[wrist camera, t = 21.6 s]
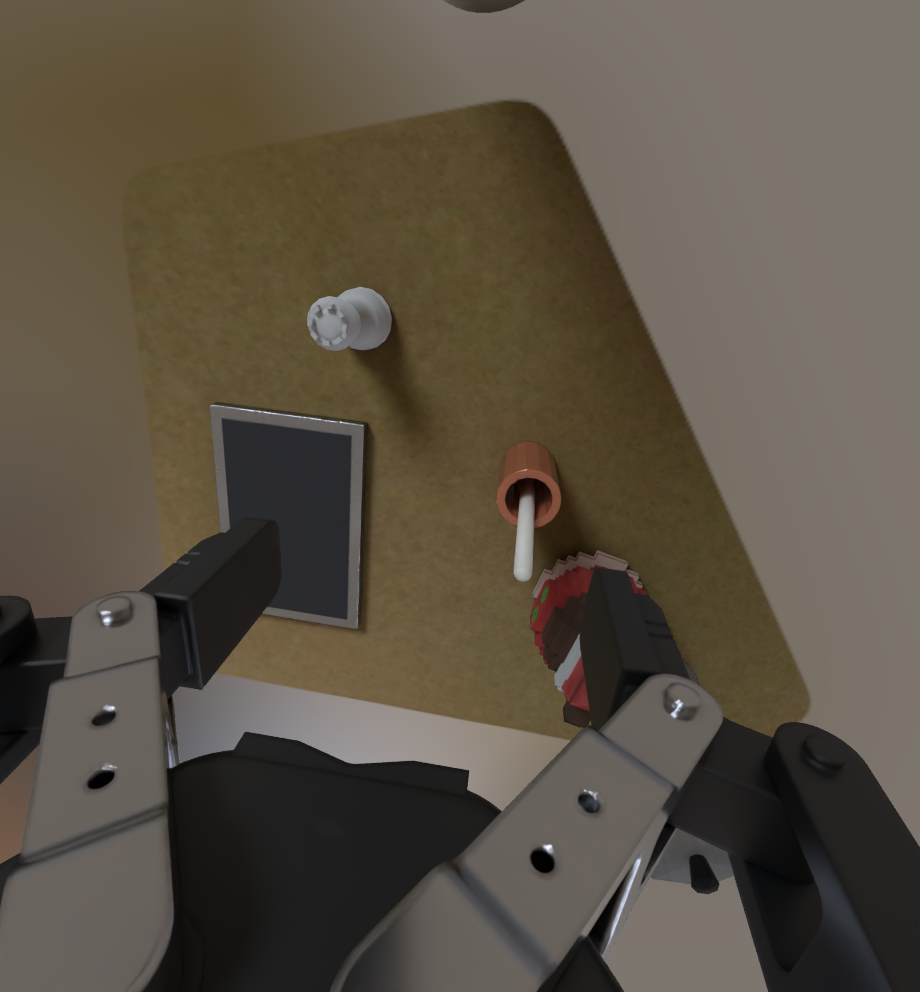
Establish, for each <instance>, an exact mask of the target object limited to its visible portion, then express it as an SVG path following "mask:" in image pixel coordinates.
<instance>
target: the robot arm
mask: <svg viewBox="0 0 920 992" xmlns="http://www.w3.org/2000/svg"><path fill="white" fill-rule="evenodd" d="M280 582H281V554H280V535H279V526H278V524H277V522H276V521H274V520H268V519H261V518H254V517H244V518H242V519H241V520H240V521H238V522H237V523H236V524H235V525H234V526H233V527H231V528H230V529H229V530H228V531H227V532H225V533H224V532H221V533H218V534H216V535H214V536H211V537H209V538H207V539H204V540H202V541H201V542H199V543H198V544H197V545H196V546H194V547H193V548H192V549H191V550H190V551H188V554H185V555H183V556H182V557H181V558H180V559H178V560H177V563H173V564H172V565H171V566H170V567H168V568H167V569H166V570H165V571H163V572H162V573H161V574H160V575H159V576H157V577H156V578H155V579H154V580H152V581H151V582H150V583H149V584H147V585H146V586H145V587H144V588H142V589H141V590H140V591H123V592H116V593H111V594H107V595H104V596H101V597H99V598H96V599H94V600H92V601H90V602H88V603H87V604H85V605H83V606H82V607H81V608H79V609H78V611H77V612H76V613H75V614H74V616H73V617H56V618H38V619H34V615H33V612H32V608H31V605H30V603H29V601H28V600H26V599H24V598H21V597H17V596H0V784H1V783H2V782H3V781H4V780H5V779H6V778H7V777H8V776H9V775H10V774H11V773H12V772H13V770H15V769H16V767H18V766H19V764H20V763H21V762H22V761H23V760H24V759H25V758H26V757H27V756H28V755H29V754H30V753H31V752H32V751H33V750H34V749H35V748H36V747H37V746H38V745H39V750H38V757H37V762H36V767H35V773H34V779H33V785H32V791H31V796H30V802H29V808H28V814H27V820H26V825H25V831H24V837H23V843H22V849H21V853H19V854H17V855H16V856H14V857H12V858H10V859H8V860H7V861H5V862H3V863H1V864H0V992H624V991H623V989H622V987H621V986H620V984H619V983H618V981H617V980H616V978H615V976H614V975H613V973H612V972H611V970H610V969H609V967H608V965H607V964H606V963H605V960H606V958H607V956H608V955H609V953H610V951H611V949H612V947H613V945H614V944H615V942H616V940H617V938H618V936H619V934H620V932H621V930H622V928H623V926H624V924H625V922H626V920H627V918H628V916H629V913H630V912H631V910H632V908H633V906H634V904H635V902H636V900H637V898H638V897H639V895H640V893H641V892H642V890H643V888H644V886H645V885H646V883H647V881H648V880H649V878H650V876H651V875H652V873H653V871H654V870H655V868H656V866H657V865H658V863H659V861H660V859H661V858H662V856H663V854H664V853H665V851H666V849H667V848H668V846H669V844H670V842H671V841H672V839H673V837H674V836H675V834H676V832H677V831H678V829H680V830H682V831H684V832H686V833H688V834H691V835H693V836H695V837H697V838H699V839H701V840H703V841H705V842H707V843H709V844H711V845H713V846H715V847H718V848H720V849H722V850H724V851H726V852H727V853H728V857H729V860H730V863H731V867H732V870H733V874H734V877H735V880H736V883H737V887H738V891H739V894H740V897H741V900H742V904H743V907H744V911H745V914H746V918H747V921H748V925H749V928H750V931H751V935H752V938H753V942H754V945H755V948H756V952H757V955H758V959H759V962H760V965H761V969H762V972H763V975H764V978H765V982H766V986H767V989H768V992H920V847H919V846H918V844H917V842H916V841H915V839H914V838H913V836H912V834H911V833H910V831H909V830H908V828H907V827H906V825H905V823H904V822H903V820H902V819H901V817H900V816H899V814H898V812H897V811H896V809H895V808H894V806H893V805H892V803H891V802H890V800H889V798H888V797H887V796H886V794H885V792H884V791H883V789H882V787H881V786H880V784H879V783H878V781H877V780H876V778H875V776H874V775H873V773H872V772H871V770H870V769H869V767H868V765H867V764H866V763H865V761H864V760H863V759H862V758H861V757H860V756H859V754H858V753H857V752H856V751H854V750H853V749H852V748H851V747H850V746H849V745H847V744H846V743H845V742H844V741H842V740H841V739H839V738H837V737H836V736H834V735H832V734H831V733H829V732H827V731H824V730H823V729H820V728H818V727H815V726H812V725H809V724H805V723H798V722H790V723H785V724H782V725H781V726H779V727H778V728H777V730H776V732H775V734H774V736H773V738H772V737H769V736H767V735H764V734H762V733H759V732H757V731H754V730H752V729H749V728H746V727H744V726H741V725H739V724H737V723H734V722H732V721H730V720H728V719H726V718H725V717H723V712H722V709H721V707H720V705H719V703H718V702H717V700H716V699H715V698H714V697H713V696H712V695H711V694H710V693H709V692H708V691H707V690H706V689H704V688H703V687H702V686H700V685H698V684H697V683H695V682H693V681H691V680H690V677H689V675H688V672H687V670H686V668H685V665H684V663H683V660H682V658H681V655H680V653H679V651H678V648H677V646H676V643H675V641H674V640H673V639H672V637H673V636H672V634H671V631H670V629H669V627H667V621H666V619H665V617H664V614H663V612H662V609H661V608H660V607H659V606H658V605H657V604H656V603H655V602H654V601H653V600H652V599H651V598H650V597H649V596H648V595H645V594H639V593H634V590H633V587H632V584H631V581H630V578H629V575H628V573H627V572H626V571H621V570H614V569H607V568H600V567H595V568H594V570H593V573H592V576H591V580H590V584H589V589H588V593H587V597H586V602H585V606H584V610H583V614H582V619H581V625H580V650H581V657H582V663H583V670H584V677H585V684H586V690H587V697H588V704H589V711H590V717H591V724H592V726H586V727H585V728H583V729H582V730H581V731H580V732H579V733H578V734H577V735H576V736H575V737H574V738H573V739H572V740H571V741H570V742H569V743H568V745H566V746H565V748H563V750H562V751H561V752H560V753H559V754H558V755H557V756H556V757H555V758H554V759H553V760H552V761H551V762H550V763H549V764H548V765H547V766H546V767H545V768H544V769H543V770H542V771H541V772H540V773H539V774H538V775H537V776H536V777H535V778H534V779H533V780H532V781H531V782H530V783H529V785H527V787H526V788H525V789H524V790H523V791H522V792H521V793H520V794H519V795H518V796H517V797H516V798H515V799H514V800H513V801H512V802H511V803H510V804H509V805H508V806H507V807H506V808H505V809H504V810H503V811H501V810H499V809H498V808H497V807H495V806H494V805H493V804H492V803H490V802H489V801H487V800H486V799H484V798H482V797H481V796H479V795H477V794H475V793H473V792H470V791H468V790H467V786H468V777H469V770H463V769H458V768H452V767H446V766H441V765H435V764H429V763H423V762H418V761H400V762H383V763H365V764H351V763H347V762H344V761H342V760H340V759H338V758H335V757H333V756H331V755H329V754H327V753H324V752H322V751H320V750H318V749H316V748H313V747H311V746H309V745H307V744H305V743H302V742H300V741H297V740H290V739H285V738H279V737H273V736H267V735H262V734H256V733H250V732H245V733H244V735H243V736H242V738H241V739H240V741H239V743H238V744H237V746H236V747H235V749H234V750H230V751H222V752H217V753H211V754H207V755H203V756H200V757H197V758H194V759H191V760H188V761H185V762H183V763H180V760H179V750H178V740H177V731H176V721H175V712H174V703H173V697H172V694H173V693H174V692H175V691H176V690H177V689H178V687H179V686H182V687H188V688H194V689H199V690H202V689H203V687H204V686H205V685H206V684H207V682H208V681H209V680H210V679H211V677H212V676H213V675H214V674H215V672H216V671H217V670H218V668H219V667H220V666H221V665H222V663H223V662H224V661H225V660H226V658H227V657H228V656H229V655H230V653H231V652H232V651H233V649H234V648H235V647H236V646H237V644H238V643H239V642H240V641H241V639H242V638H243V637H244V636H245V634H246V633H247V632H248V630H249V629H250V628H251V627H252V625H253V624H254V623H255V622H256V620H257V619H258V618H259V617H260V615H261V614H262V613H263V611H264V610H265V609H266V608H267V606H268V605H269V604H270V603H271V601H272V600H273V599H274V597H275V596H276V594H277V592H278V589H279V586H280Z"/></svg>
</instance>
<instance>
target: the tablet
mask: <svg viewBox="0 0 920 992" xmlns="http://www.w3.org/2000/svg"><path fill="white" fill-rule="evenodd" d="M210 414H211V425H212V437H213V449H214V461H215V472H216V484H217V496H218V507H219V519H220V531H221V532H224V533H225V532H227V531H228V530H229V529H230V528H231V527H233V526H234V525H235V524H236V523H237V522H238V521H240V520H241V519H242V518H244V517H254V518H261V519H268V520H274V521H276V522H277V524H278V526H279V535H280V554H281V582H280V586H279V589H278V592H277V594H276V596H275V597H274V599H273V600H272V601H271V603H270V604H269V605H268V606H267V608H266V609H265V610H264V611H263V613H262V614H267V615H273V616H279V617H285V618H291V619H298V620H304V621H310V622H316V623H322V624H328V625H334V626H340V627H347V628H353V629H358V627H359V625H360V619H361V591H362V562H363V534H364V505H365V477H366V448H367V422H360V421H353V420H345V419H338V418H330V417H323V416H315V415H308V414H301V413H293V412H286V411H278V410H271V409H263V408H256V407H248V406H241V405H233V404H226V403H218V402H216V403H213V404H210Z"/></svg>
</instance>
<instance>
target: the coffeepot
mask: <svg viewBox="0 0 920 992" xmlns="http://www.w3.org/2000/svg"><path fill="white" fill-rule="evenodd" d="M682 660H683V659H682ZM683 663H684V665H685V668H686V670H687V672H688V675H689V677H690V680H691V681H693V682H695V683H697V684H698V682H697V677H696V674H695V673H694V672H693V671H692V670H691V669H690V667H689V666H688V665H687V664H686V663H685V661H684V660H683ZM731 876H734V874H733V870H732V867H731V863H730V860H729V857H728V853H727V852H726V851H724V850H722V849H720V848H718V847H715V846H713V845H711V844H709V843H707V842H705V841H703V840H701V839H699V838H697V837H695V836H693V835H691V834H688V833H686V832H684V831H682V830H680V829H678V831H677V832H676V834H675V836H674V837H673V839H672V841H671V842H670V844H669V846H668V848H667V849H666V851H665V853H664V854H663V856H662V858H661V859H660V861H659V863H658V865H657V866H656V868H655V870H654V871H653V873H652V875H651V877H652V878H653V879H659V880H665V881H673V882H680V883H687V884H691V887H692V888H693V889H694V890H695V891H696V892H697V893H704V894H710V893H712V892H715V891H717V890H718V887H719V882H718V881H721V880H723V879H726V878H728V877H731Z"/></svg>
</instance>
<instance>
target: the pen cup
mask: <svg viewBox="0 0 920 992" xmlns="http://www.w3.org/2000/svg"><path fill="white" fill-rule="evenodd" d="M523 478H535V479H536V485H535V512H534V528H538V527H542V526H544V525H546V524H547V523H549V522H550V521H552V520H553V519H554V517H555V516H556V514H557V513H558V511H559V509H560V505H561V500H562V499H561V492H560V486H559V480H558V475H557V469H556V465H555V460H554V458H553V455H552V454H551V452H550V451H549V450H548V449H547V448H546V447H544V446H543V445H541V444H538V443H534V442H523V443H519V444H517V445H515V446H513V447H512V448H510V449H509V450H508V451H507V452H506V454H505V455H504V457H503V460H502V463H501V470H500V477H499V484H498V492H497V499H496V502H497V506H498V509H499V512H500V514H501V515H502V516H503V517H504V518H505V520H506V521H508V522H509V523H511V524H513V525H514V526H516V527H517V526H518V514H519V501H520V489H521V479H523Z"/></svg>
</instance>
